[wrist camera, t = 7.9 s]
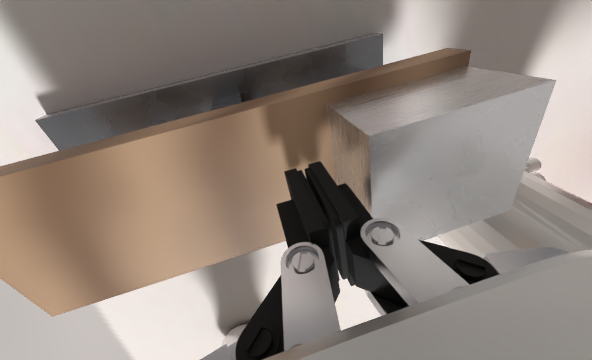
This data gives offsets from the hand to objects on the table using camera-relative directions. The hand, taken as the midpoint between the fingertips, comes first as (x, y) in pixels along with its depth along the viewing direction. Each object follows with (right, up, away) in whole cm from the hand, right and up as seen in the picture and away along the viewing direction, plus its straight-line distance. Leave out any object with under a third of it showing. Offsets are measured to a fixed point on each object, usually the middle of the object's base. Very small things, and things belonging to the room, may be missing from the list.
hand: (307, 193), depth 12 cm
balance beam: (-3, +1, +2) cm, 4 cm away
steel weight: (+5, +3, +2) cm, 6 cm away
